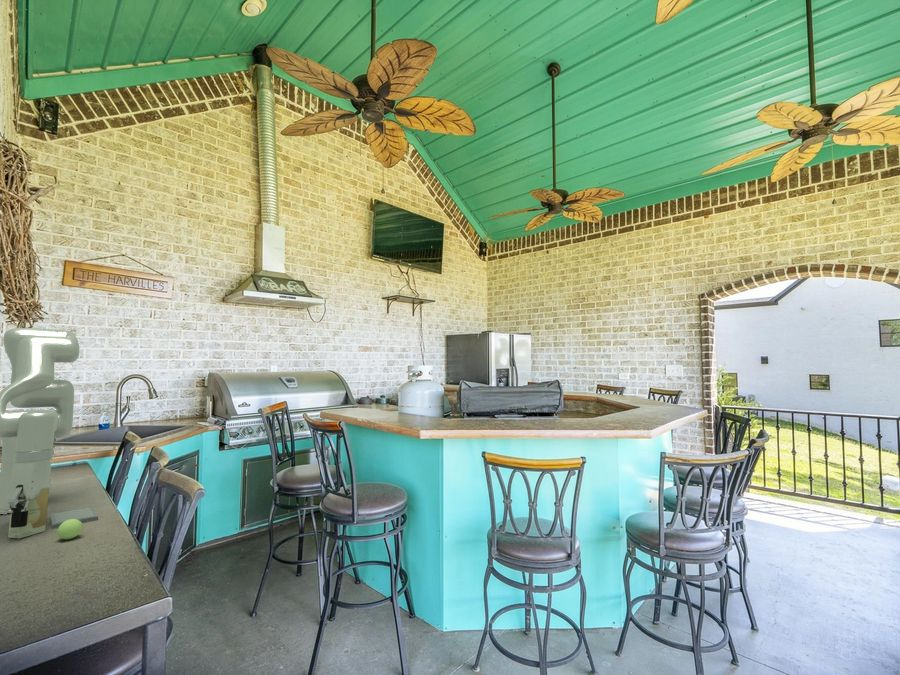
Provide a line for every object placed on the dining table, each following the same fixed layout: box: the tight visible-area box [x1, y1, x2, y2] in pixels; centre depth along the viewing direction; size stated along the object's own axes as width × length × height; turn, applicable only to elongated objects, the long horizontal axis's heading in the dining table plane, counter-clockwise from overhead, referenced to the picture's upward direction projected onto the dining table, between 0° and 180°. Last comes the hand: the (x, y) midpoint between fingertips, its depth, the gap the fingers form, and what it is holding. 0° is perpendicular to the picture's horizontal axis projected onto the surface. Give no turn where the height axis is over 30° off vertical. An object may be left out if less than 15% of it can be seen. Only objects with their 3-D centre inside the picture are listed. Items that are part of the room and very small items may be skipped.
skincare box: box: [7, 487, 50, 539], centre depth 115 cm, size 6×4×12 cm
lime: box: [56, 519, 84, 541], centre depth 111 cm, size 5×5×5 cm
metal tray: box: [49, 506, 99, 529], centre depth 128 cm, size 14×10×1 cm
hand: (28, 521), depth 115 cm, fingers closed on skincare box, 7 cm apart
